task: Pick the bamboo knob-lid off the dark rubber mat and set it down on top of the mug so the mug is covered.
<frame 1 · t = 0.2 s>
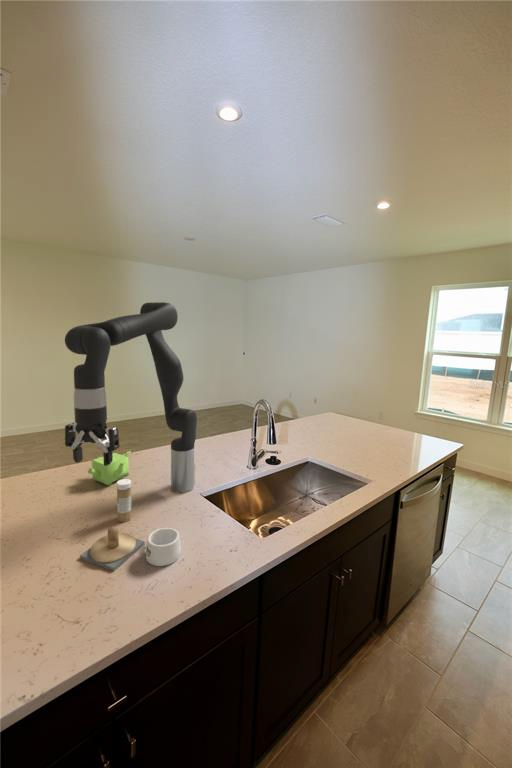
hand: (93, 463, 86), 27 cm above the worktop, fingers open, 8 cm apart
sprinkles bottle: (124, 519, 108), on the worktop
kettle: (112, 480, 135), on the worktop
lid: (113, 548, 92), point 1 cm above the worktop, touching mat
mug: (161, 554, 92), on the worktop
mat: (113, 551, 92), on the worktop
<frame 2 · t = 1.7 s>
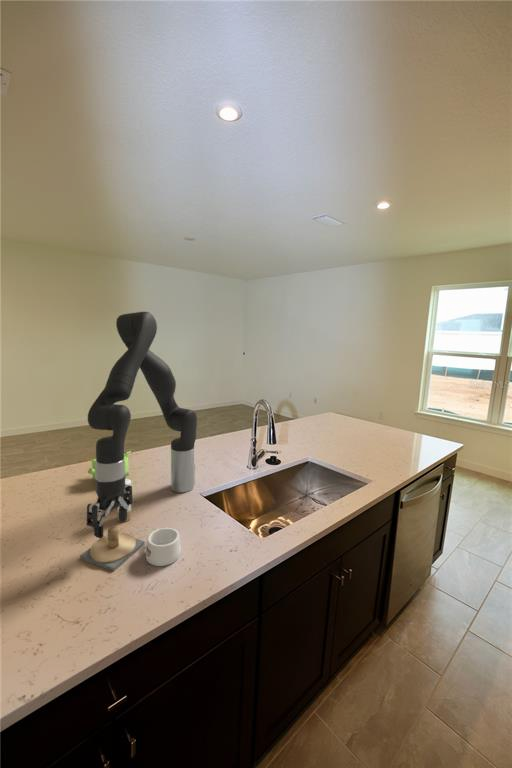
hand: (111, 528, 90), 7 cm above the worktop, fingers open, 8 cm apart
nothing on the worktop moved.
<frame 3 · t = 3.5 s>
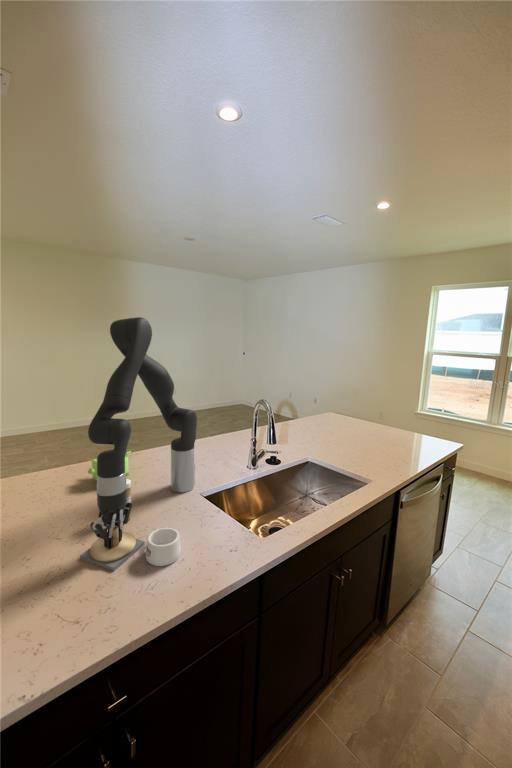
hand: (113, 544, 91), 2 cm above the worktop, fingers closed on lid, 2 cm apart
lid: (113, 546, 92), point 1 cm above the worktop, touching gripper
everything else where it was.
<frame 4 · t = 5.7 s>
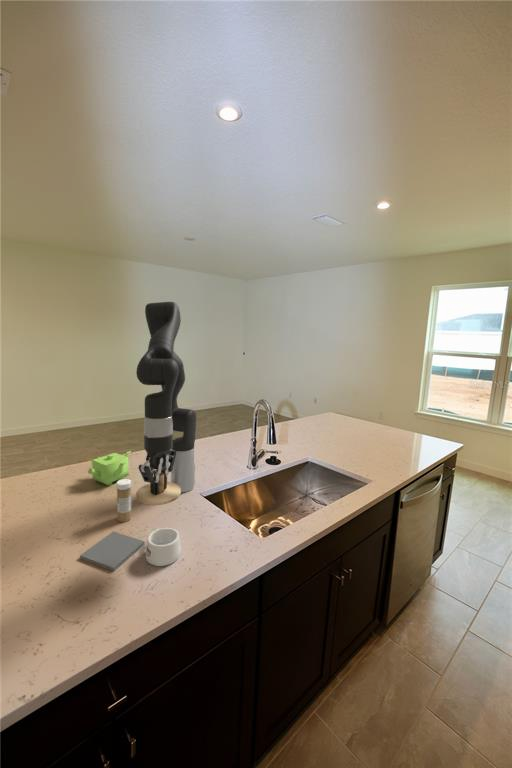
hand: (158, 491, 89), 19 cm above the worktop, fingers closed on lid, 2 cm apart
lid: (158, 494, 89), point 18 cm above the worktop, touching gripper
everything else where it was.
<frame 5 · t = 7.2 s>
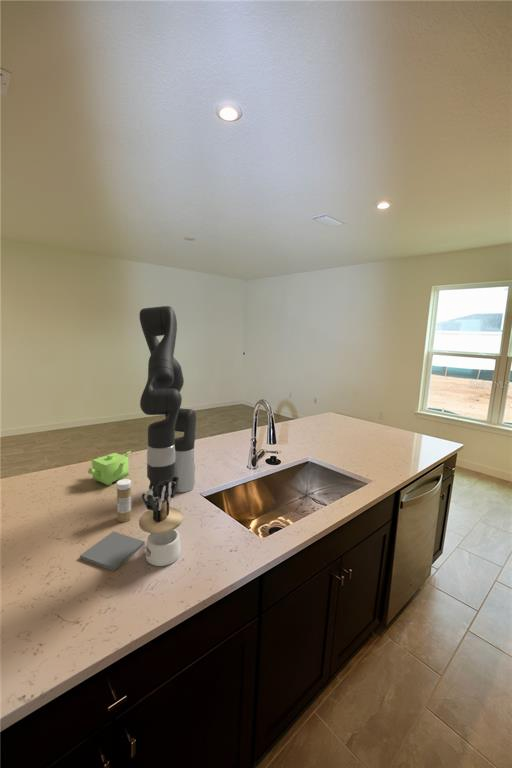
hand: (161, 517, 90), 11 cm above the worktop, fingers closed on lid, 2 cm apart
lid: (161, 520, 90), point 10 cm above the worktop, touching gripper
everything else where it was.
when the fingers open (9 cm above the worktop, at t = 8.3 s): lid drops 2 cm, resting on mug.
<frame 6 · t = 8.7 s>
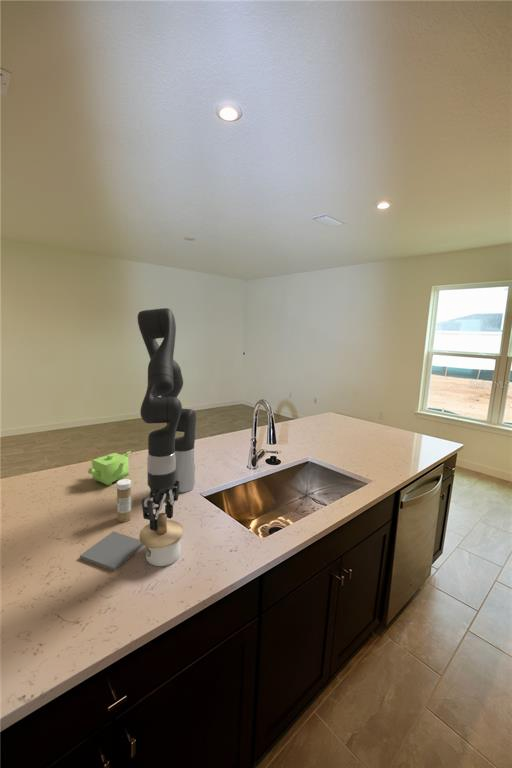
hand: (161, 523, 90), 9 cm above the worktop, fingers open, 6 cm apart
lid: (161, 534, 91), point 6 cm above the worktop, touching mug
mug: (162, 554, 92), on the worktop, touching lid
everything else where it was.
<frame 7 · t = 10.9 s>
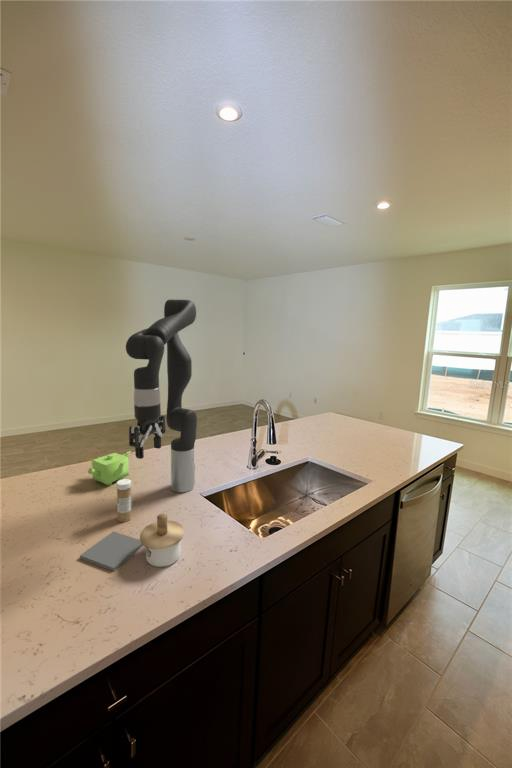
hand: (149, 452, 99), 26 cm above the worktop, fingers open, 8 cm apart
nothing on the worktop moved.
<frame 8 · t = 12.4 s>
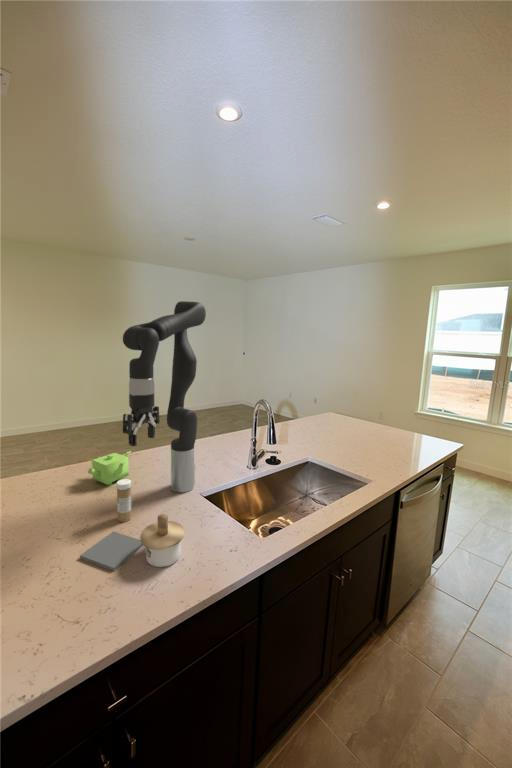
hand: (142, 441, 102), 28 cm above the worktop, fingers open, 8 cm apart
nothing on the worktop moved.
at the end: lid 0.3 cm from the mug (horizontally); lid point 5.8 cm above the worktop; lid tilted 0° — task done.
